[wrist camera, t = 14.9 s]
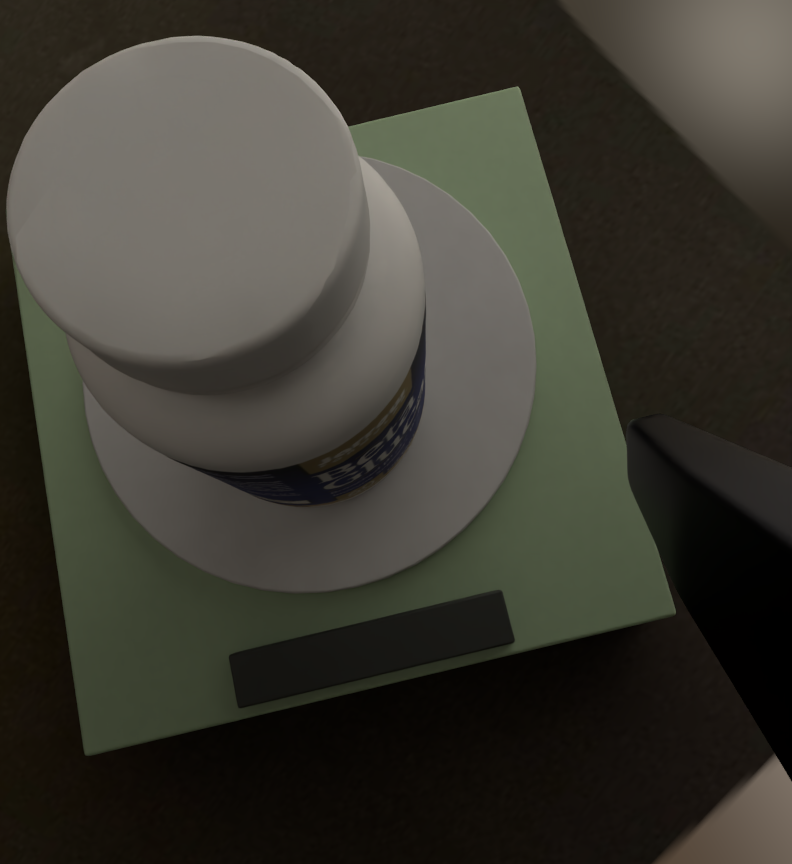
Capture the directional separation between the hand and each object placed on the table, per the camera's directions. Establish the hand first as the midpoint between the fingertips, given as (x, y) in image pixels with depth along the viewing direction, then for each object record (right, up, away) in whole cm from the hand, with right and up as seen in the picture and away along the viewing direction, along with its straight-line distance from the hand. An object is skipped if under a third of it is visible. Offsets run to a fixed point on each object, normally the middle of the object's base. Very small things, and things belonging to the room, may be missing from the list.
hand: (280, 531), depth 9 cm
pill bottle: (-1, +2, +9) cm, 9 cm away
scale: (0, +2, +11) cm, 11 cm away
